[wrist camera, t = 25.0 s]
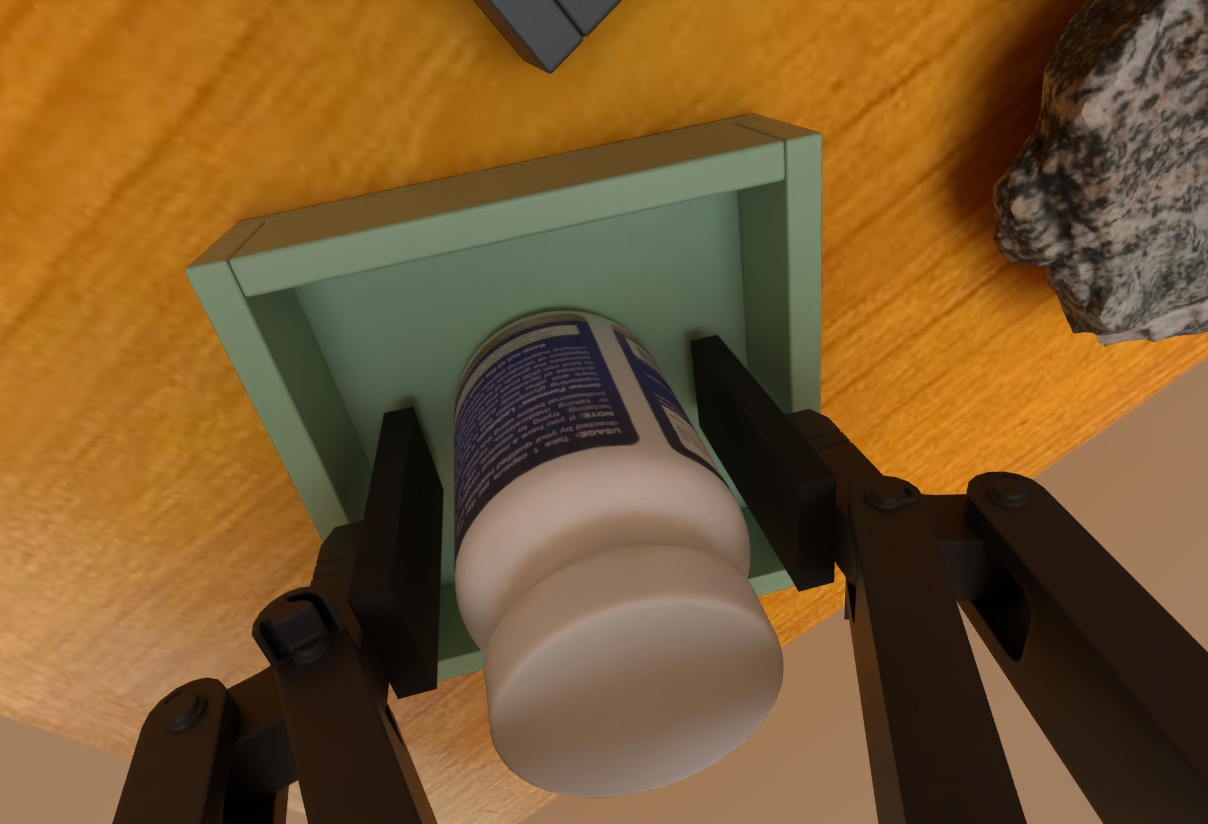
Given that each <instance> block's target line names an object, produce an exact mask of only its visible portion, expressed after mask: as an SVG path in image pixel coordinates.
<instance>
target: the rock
mask: <svg viewBox="0 0 1208 824" xmlns="http://www.w3.org/2000/svg"><path fill="white" fill-rule="evenodd" d="M993 204H994V206H995V211H994V213H993V214H994V218H995V221H996V229H995V233H994V237H993V240H994V241H995V242H996V244H997V245H998V249H999V251H1000V252H1001V253H1002V254H1003V255H1004V256H1005V257H1006V258H1007V259H1008V260H1009V261H1010V262H1011V263H1023V262H1025V263H1028V264H1030V265H1034V266H1039V267H1044V268H1045V270H1046V278H1047V282H1048V283H1049V285H1050V286H1051V287H1052V288H1053V290H1054V291H1055V293H1056V294H1057V296H1058V297H1059V300H1060V303H1061V306H1062V309H1063V312H1064V314H1065V316H1066V318H1067V321H1068V323H1069V325H1070V327H1071V329H1072V331H1073V333H1081V332H1089V333H1094V334H1095V335H1097V339H1098V343H1102V344H1104V346H1108V345H1112V344H1115V343H1119V342H1122V341H1133V340H1143V339H1146V340H1149V341H1153V342H1156V341H1159V340H1161V339H1164V338H1170V337H1174V336H1180V335H1194V334H1200V333H1203V332H1207V331H1208V0H1087V1H1086V2H1085V3H1084V4H1083V6H1082V7H1081V8H1080V9H1079V10H1078V11H1077V12H1076V13H1075V15H1074V16H1073V17H1072V18H1071V19H1070V20H1069V21H1068V22H1067V24H1066V26H1065V28H1064V30H1063V32H1062V34H1061V36H1060V37H1059V39H1058V41H1057V42H1056V44H1055V46H1054V48H1053V51H1052V53H1051V55H1050V57H1049V60H1048V62H1047V64H1046V66H1045V69H1044V79H1043V90H1042V102H1041V113H1040V116H1039V119H1038V121H1037V123H1036V126H1035V128H1034V130H1033V133H1032V134H1031V135H1030V136H1029V138H1028V139H1027V140H1026V141H1025V143H1024V144H1023V145H1022V146H1021V148H1020V149H1019V151H1018V153H1017V155H1016V157H1015V159H1014V161H1013V163H1012V165H1011V167H1010V168H1009V169H1008V170H1007V171H1006V172H1005V173H1004V174H1003V175H1002V177H1001V178H1000V179H999V180H998V181H997V182H996V183H995V184H994V185H993Z"/></svg>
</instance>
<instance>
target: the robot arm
mask: <svg viewBox="0 0 1208 824" xmlns="http://www.w3.org/2000/svg"><path fill="white" fill-rule="evenodd" d="M690 344H691V354H692V363H693V372H694V382H695V391H696V401H697V410H698V419H699V427H700V429H701V430H702V432H703V434H704V435H705V437H706V439H707V440H708V442H709V444H710V445H711V447H712V448H713V450H714V452H715V453H716V455H717V457H718V458H719V460H720V462H721V463H722V465H723V467H724V468H725V470H726V472H727V473H728V475H729V477H730V478H731V480H732V482H733V483H734V485H735V487H736V488H737V490H738V492H739V493H740V495H741V497H742V498H743V500H744V502H745V503H746V505H747V507H748V508H749V510H750V512H751V513H752V515H753V517H754V518H755V520H756V522H757V523H758V525H759V526H760V528H761V530H762V531H763V533H764V535H765V536H766V538H767V540H768V541H769V543H770V545H771V546H772V548H773V550H774V551H775V553H776V555H777V556H778V558H779V560H780V561H781V563H782V565H783V566H784V568H785V570H786V571H787V573H788V575H789V576H790V578H791V580H792V581H793V583H794V585H795V586H796V588H797V590H798V591H799V592H800V591H803V590H807V589H811V588H814V587H818V586H822V585H826V584H829V583H833V582H834V568H835V563H836V564H837V565H838V567H839V568H840V570H841V571H842V572H843V574H844V575H845V577H846V591H845V619H849V621H850V628H851V635H852V642H853V649H854V656H855V663H856V670H857V677H858V684H859V691H860V698H861V705H862V711H863V719H864V726H865V733H866V740H867V747H868V754H869V761H870V768H871V775H872V782H873V788H874V796H875V802H876V810H877V816H878V823H879V824H1027V823H1026V819H1025V816H1024V813H1023V810H1022V807H1021V804H1020V801H1019V797H1018V794H1017V791H1016V788H1015V785H1014V782H1013V778H1012V775H1011V772H1010V769H1009V766H1008V763H1007V759H1006V756H1005V753H1004V750H1003V747H1002V744H1001V741H1000V738H999V734H998V731H997V728H996V725H995V722H994V718H993V715H992V712H991V709H990V706H989V703H988V700H987V696H986V693H985V690H984V687H983V684H982V681H981V678H980V674H979V671H978V668H977V665H976V662H975V659H974V656H973V652H972V649H971V646H970V643H969V640H968V637H967V633H966V630H965V627H964V624H963V621H962V618H961V615H960V612H959V608H958V605H957V602H958V604H959V605H960V607H961V608H962V610H963V611H964V613H965V614H966V616H967V617H968V619H969V621H970V622H971V624H972V625H973V626H974V628H975V630H976V631H977V633H978V634H979V636H980V637H981V639H982V640H983V641H984V643H985V645H986V646H987V648H988V649H989V651H990V652H991V654H992V655H993V657H994V658H995V660H996V662H997V663H998V664H999V666H1000V668H1001V669H1002V671H1003V672H1004V674H1005V675H1006V677H1007V678H1008V680H1009V681H1010V683H1011V684H1012V686H1013V687H1014V689H1015V690H1016V692H1017V693H1018V695H1019V696H1020V698H1021V699H1022V701H1023V702H1024V704H1025V706H1026V707H1027V708H1028V710H1029V712H1030V713H1031V715H1032V716H1033V718H1034V719H1035V721H1036V722H1037V723H1038V725H1039V727H1040V728H1041V730H1042V731H1043V733H1044V734H1045V736H1046V737H1047V739H1048V740H1049V742H1050V743H1051V745H1052V747H1053V748H1054V750H1055V751H1056V753H1057V754H1058V755H1059V757H1060V759H1061V760H1062V762H1063V763H1064V765H1065V766H1066V768H1067V769H1068V771H1069V772H1070V774H1071V775H1072V777H1073V778H1074V780H1075V781H1076V783H1077V784H1078V786H1079V788H1080V789H1081V790H1082V792H1083V794H1084V795H1085V797H1086V798H1087V800H1088V801H1089V803H1090V804H1091V806H1092V807H1093V809H1094V810H1095V812H1096V813H1097V815H1098V816H1099V818H1100V819H1101V821H1102V822H1103V824H1208V652H1207V651H1206V650H1205V649H1204V648H1203V647H1202V646H1201V645H1200V644H1199V643H1198V642H1197V641H1196V640H1195V639H1194V638H1193V637H1192V636H1191V635H1190V634H1189V633H1188V632H1187V631H1186V630H1185V629H1184V628H1183V627H1182V626H1181V625H1180V624H1179V623H1178V622H1177V621H1176V620H1175V619H1174V618H1173V617H1172V616H1171V615H1170V614H1169V613H1168V612H1167V611H1166V610H1165V609H1164V608H1163V607H1162V606H1161V605H1160V604H1159V603H1158V602H1157V601H1156V600H1155V599H1154V598H1153V597H1152V596H1151V595H1150V594H1149V593H1148V592H1147V591H1146V590H1145V589H1144V588H1143V587H1142V586H1141V585H1140V584H1139V583H1138V582H1137V581H1136V580H1135V579H1134V578H1133V577H1132V576H1131V575H1130V574H1129V573H1128V572H1127V571H1126V570H1125V569H1124V568H1123V567H1122V566H1121V565H1120V564H1119V563H1118V562H1117V561H1116V560H1115V559H1114V558H1113V557H1112V556H1111V555H1110V554H1109V553H1108V552H1107V551H1106V550H1105V548H1103V547H1102V545H1101V544H1100V543H1099V542H1097V540H1096V539H1094V537H1093V536H1091V534H1089V533H1088V531H1087V530H1086V529H1084V527H1083V526H1082V525H1081V524H1080V523H1078V521H1077V520H1076V519H1075V518H1074V517H1073V516H1072V515H1071V514H1070V513H1069V512H1068V511H1067V510H1066V509H1065V508H1064V507H1063V506H1062V505H1061V504H1060V503H1059V502H1058V501H1057V500H1056V499H1055V498H1054V497H1053V496H1052V495H1051V494H1050V493H1049V492H1048V491H1047V490H1045V488H1044V487H1042V486H1041V485H1039V484H1038V483H1037V482H1035V481H1034V480H1032V479H1030V478H1027V477H1024V476H1022V475H1019V474H1014V473H1008V472H987V473H984V474H980V475H977V476H975V477H974V478H973V479H972V480H971V481H969V483H968V488H967V493H966V494H958V495H925V494H921V493H920V491H919V490H918V488H916V487H915V486H914V485H912V484H911V483H909V482H908V481H905V480H902V479H899V478H896V477H890V476H883V475H882V474H881V473H880V472H879V471H878V470H877V469H876V467H875V466H874V465H873V464H872V463H871V462H870V461H869V460H868V459H867V458H866V457H865V456H864V455H863V454H862V453H861V452H860V451H859V450H858V448H857V447H856V446H855V445H854V444H853V443H850V440H849V439H848V438H847V437H846V436H845V435H844V434H843V433H841V432H840V429H839V428H838V427H837V426H836V425H835V424H834V423H833V422H832V421H831V420H830V419H829V418H828V417H826V416H824V415H822V414H820V413H818V412H815V411H813V410H811V409H806V410H802V411H798V412H794V413H790V414H786V415H785V414H784V413H783V412H782V410H781V409H780V408H779V407H778V406H777V405H776V403H775V402H774V401H773V400H772V399H771V397H770V396H769V395H768V394H767V393H766V391H765V390H764V389H763V388H762V387H761V386H760V384H759V383H758V382H757V381H756V380H755V378H754V377H753V376H752V375H751V374H750V373H749V371H748V370H747V369H746V368H745V367H744V365H743V364H742V363H741V362H740V361H739V359H738V358H737V357H736V356H735V355H734V354H733V352H732V351H731V350H730V349H729V348H728V346H727V345H726V344H725V343H724V342H723V340H722V339H721V338H720V337H719V336H718V335H714V336H709V337H705V338H701V339H697V340H692V341H690ZM443 495H444V489H443V486H442V483H441V481H440V478H439V475H438V472H437V470H436V467H435V464H434V461H433V459H432V456H431V453H430V451H429V448H428V445H427V442H426V440H425V437H424V434H423V431H422V429H421V426H420V423H419V421H418V418H417V415H416V412H415V410H414V407H413V406H412V407H408V408H403V409H399V410H395V411H391V412H386V413H384V415H383V420H382V425H381V430H380V435H379V440H378V445H377V450H376V456H375V461H374V466H373V471H372V476H371V481H370V486H369V491H368V497H367V502H366V507H365V512H364V517H363V520H362V521H358V522H354V523H350V524H346V525H342V526H338V527H334V529H333V530H332V531H331V533H330V534H329V535H328V537H327V538H326V539H325V541H324V542H323V543H322V545H321V547H320V551H319V555H318V559H317V562H316V563H317V566H315V570H314V574H313V580H312V581H311V585H310V587H300V588H297V589H295V590H292V591H289V592H287V593H284V594H283V595H281V596H280V597H278V598H276V599H275V600H273V601H272V602H270V603H269V604H268V605H267V606H266V607H265V608H264V609H263V610H262V611H261V612H260V613H259V615H258V617H257V618H256V620H255V622H254V624H253V629H252V636H253V638H254V640H255V641H256V643H257V644H258V646H259V647H260V649H261V650H262V652H263V653H264V655H265V656H266V658H267V660H268V661H269V663H270V664H271V666H269V667H268V668H266V669H264V670H263V671H261V672H259V673H258V674H256V675H254V676H252V677H250V678H248V679H246V680H244V681H242V682H240V683H238V684H236V685H234V686H232V687H230V688H229V689H226V687H225V686H224V685H223V684H222V683H221V682H220V681H219V680H218V679H212V678H203V679H198V680H194V681H191V682H189V683H187V684H184V685H182V686H180V687H178V688H176V689H175V690H174V691H172V692H171V693H170V694H168V695H167V696H166V697H164V698H163V699H162V700H161V701H160V702H159V703H158V704H157V705H156V706H155V707H154V708H153V710H152V711H151V712H150V713H149V715H148V716H147V718H146V720H145V722H144V724H143V726H142V729H141V732H140V735H139V739H138V742H137V745H136V748H135V752H134V755H133V758H132V761H131V765H130V768H129V771H128V775H127V778H126V781H125V785H124V787H123V791H122V794H121V798H120V801H119V804H118V807H117V810H116V814H115V817H114V820H113V823H112V824H286V813H287V801H288V789H289V785H290V784H292V783H294V782H295V781H297V780H298V781H299V786H300V790H301V794H302V799H303V803H304V807H305V812H306V816H307V820H308V824H438V823H437V821H436V818H435V816H434V813H433V811H432V808H431V806H430V803H429V801H428V798H427V796H426V793H425V791H424V789H423V786H422V784H421V781H420V779H419V776H418V774H417V771H416V769H415V766H414V764H413V761H412V759H411V756H410V754H409V752H408V749H407V747H406V744H405V742H404V739H403V737H402V734H401V732H400V729H399V727H398V724H397V722H396V719H395V717H394V715H393V713H392V711H391V709H390V707H389V705H388V704H387V697H388V688H389V682H390V684H391V686H392V688H393V690H394V692H395V694H396V696H397V698H398V699H401V698H404V697H408V696H412V695H415V694H419V693H423V692H427V691H430V690H434V689H437V675H438V645H439V615H440V585H441V555H442V525H443ZM956 601H957V602H956Z"/></svg>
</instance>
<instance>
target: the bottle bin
mask: <svg viewBox="0 0 1208 824" xmlns="http://www.w3.org/2000/svg"><path fill="white" fill-rule="evenodd" d="M821 265H822V134H821V133H820V132H816V131H813V130H809V129H806V128H802V127H799V126H795V125H792V124H789V123H785V122H782V121H778V120H775V119H771V118H768V117H764V116H761V115H758V114H749V115H744V116H740V117H735V118H730V119H725V120H721V121H716V122H711V123H706V124H702V125H697V126H692V127H687V128H683V129H678V130H673V131H668V132H664V133H659V134H654V135H649V136H644V137H640V138H635V139H630V140H625V141H621V142H616V143H611V144H606V145H602V146H597V147H592V148H587V149H583V150H578V151H573V152H568V153H563V154H559V155H554V156H549V157H544V158H540V159H535V160H530V161H525V162H521V163H516V164H511V165H506V166H502V167H497V168H492V169H487V170H483V171H478V172H473V173H468V174H463V175H459V176H454V177H449V178H444V179H440V180H435V181H430V182H425V183H421V184H416V185H411V186H406V187H402V188H397V189H392V190H387V191H383V192H378V193H373V194H368V195H363V196H359V197H354V198H349V199H344V200H340V201H335V202H330V203H325V204H321V205H316V206H311V207H306V208H302V209H297V210H292V211H287V212H283V213H278V214H273V215H268V216H263V217H259V218H254V219H249V220H244V221H240V222H238V223H237V224H236V225H234V226H233V227H232V228H231V229H230V230H229V231H227V232H226V233H225V234H224V235H223V236H222V237H221V238H219V239H218V240H217V241H216V242H215V243H214V244H213V245H211V246H210V247H209V248H208V249H207V250H206V251H205V252H204V253H202V254H201V255H200V256H199V257H198V258H197V259H196V260H194V261H193V262H192V263H191V264H190V265H189V266H188V267H186V268H185V273H186V275H187V277H188V279H189V281H190V283H191V285H192V287H193V289H194V290H195V292H196V294H197V296H198V298H199V300H200V302H201V304H202V306H203V308H204V310H205V312H206V314H207V316H208V318H209V320H210V322H211V324H212V326H213V328H214V330H215V331H216V333H217V335H218V337H219V339H220V341H221V343H222V345H223V347H224V349H225V351H226V353H227V355H228V357H229V359H230V361H231V363H232V365H233V367H234V369H235V370H236V372H237V374H238V376H239V378H240V380H241V382H242V384H243V386H244V388H245V390H246V392H247V394H248V396H249V398H250V400H251V402H252V404H253V406H254V408H255V410H256V411H257V413H258V415H259V417H260V419H261V421H262V423H263V425H264V427H265V429H266V431H267V433H268V435H269V437H270V439H271V441H272V443H273V445H274V447H275V449H276V450H277V452H278V454H279V456H280V458H281V460H282V462H283V464H284V466H285V468H286V470H287V472H288V474H289V476H290V478H291V480H292V482H293V484H294V486H295V488H296V490H297V491H298V493H299V495H300V497H301V499H302V501H303V503H304V505H305V507H306V509H307V511H308V513H309V515H310V517H311V519H312V521H313V523H314V525H315V527H316V529H317V530H318V532H319V534H320V536H321V538H322V540H323V542H324V541H325V539H326V538H327V537H328V535H329V534H330V533H331V531H332V530H333V529H334V527H338V526H342V525H346V524H350V523H354V522H358V521H362V520H363V517H364V512H365V507H366V502H367V497H368V491H369V486H370V481H371V476H372V471H373V466H374V461H375V456H376V450H377V445H378V440H379V435H380V430H381V425H382V420H383V415H384V413H386V412H391V411H395V410H399V409H403V408H408V407H412V406H413V407H414V410H415V412H416V415H417V418H418V421H419V423H420V426H421V429H422V431H423V434H424V437H425V440H426V442H427V445H428V448H429V451H430V453H431V456H432V459H433V461H434V464H435V467H436V470H437V472H438V475H439V478H440V481H441V483H442V486H443V489H444V495H443V525H442V555H441V585H440V615H439V645H438V675H437V682H439V681H443V680H447V679H451V678H454V677H458V676H462V675H465V674H469V673H473V672H477V671H480V670H484V669H485V657H486V655H485V654H484V653H483V652H482V651H481V649H480V648H479V647H478V646H477V645H476V643H475V642H474V640H473V639H472V637H471V636H470V634H469V632H468V630H467V628H466V626H465V624H464V622H463V620H462V617H461V614H460V611H459V607H458V603H457V597H456V589H455V570H454V405H455V398H456V392H457V388H458V384H459V382H460V379H461V376H462V374H463V372H464V370H465V368H466V366H467V364H468V363H469V361H470V359H471V358H472V356H473V355H474V354H475V353H476V351H477V350H478V349H479V348H480V347H481V346H482V345H483V344H484V343H485V342H486V341H487V340H488V339H489V338H490V337H491V336H493V335H494V334H495V333H496V332H498V331H499V330H501V329H502V328H504V327H506V326H507V325H509V324H511V323H513V322H515V321H517V320H520V319H522V318H525V317H528V316H531V315H535V314H539V313H543V312H550V311H565V310H569V311H579V312H586V313H590V314H594V315H597V316H601V317H603V318H606V319H608V320H611V321H613V322H615V323H617V324H618V325H620V326H622V327H623V328H625V329H626V330H628V331H629V332H630V333H631V334H633V335H634V336H635V337H636V338H637V339H638V340H639V341H640V342H641V343H642V345H643V346H644V347H645V348H646V350H647V351H648V352H649V354H650V355H651V356H652V358H653V359H654V361H655V362H656V364H657V366H658V367H659V369H660V371H661V373H662V374H663V376H664V378H665V379H666V381H667V383H668V384H669V386H670V387H671V389H672V391H673V392H674V394H675V396H676V398H677V399H678V401H679V403H680V404H681V406H682V408H683V410H684V411H685V413H686V415H687V416H688V418H689V420H690V422H691V423H692V425H693V427H694V428H695V430H696V432H697V433H698V435H699V437H700V439H701V440H702V442H703V443H704V445H705V447H706V449H707V451H708V452H709V454H710V456H711V457H712V459H713V461H714V462H715V464H716V466H717V467H718V469H719V471H720V473H721V474H722V476H723V478H724V479H725V481H726V483H727V484H728V486H729V487H730V489H731V491H732V493H733V495H734V497H735V499H736V501H737V503H738V505H739V507H740V510H741V512H742V514H743V516H744V519H745V522H746V525H747V529H748V534H749V540H750V569H749V575H748V579H747V580H748V581H749V582H750V583H751V585H752V587H753V589H754V590H755V593H756V595H757V596H760V595H764V594H768V593H771V592H775V591H779V590H783V589H786V588H790V587H793V586H794V583H793V581H792V580H791V578H790V576H789V575H788V573H787V571H786V570H785V568H784V566H783V565H782V563H781V561H780V560H779V558H778V556H777V555H776V553H775V551H774V550H773V548H772V546H771V545H770V543H769V541H768V540H767V538H766V536H765V535H764V533H763V531H762V530H761V528H760V526H759V525H758V523H757V522H756V520H755V518H754V517H753V515H752V513H751V512H750V510H749V508H748V507H747V505H746V503H745V502H744V500H743V498H742V497H741V495H740V493H739V492H738V490H737V488H736V487H735V485H734V483H733V482H732V480H731V478H730V477H729V475H728V473H727V472H726V470H725V468H724V467H723V465H722V463H721V462H720V460H719V458H718V457H717V455H716V453H715V452H714V450H713V448H712V447H711V445H710V444H709V442H708V440H707V439H706V437H705V435H704V434H703V432H702V430H701V429H700V427H699V419H698V410H697V401H696V391H695V382H694V372H693V363H692V354H691V344H690V341H692V340H697V339H701V338H705V337H709V336H714V335H718V336H719V337H720V338H721V339H722V340H723V342H724V343H725V344H726V345H727V346H728V348H729V349H730V350H731V351H732V352H733V354H734V355H735V356H736V357H737V358H738V359H739V361H740V362H741V363H742V364H743V365H744V367H745V368H746V369H747V370H748V371H749V373H750V374H751V375H752V376H753V377H754V378H755V380H756V381H757V382H758V383H759V384H760V386H761V387H762V388H763V389H764V390H765V391H766V393H767V394H768V395H769V396H770V397H771V399H772V400H773V401H774V402H775V403H776V405H777V406H778V407H779V408H780V409H781V410H782V412H783V413H784V414H785V415H786V414H790V413H794V412H798V411H802V410H806V409H811V410H813V411H815V412H818V413H820V414H821Z"/></svg>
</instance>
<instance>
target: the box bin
mask: <svg viewBox="0 0 1208 824" xmlns="http://www.w3.org/2000/svg"><path fill="white" fill-rule="evenodd" d="M473 1H474V2H475V3H476V4H477V5H478V7H479V8H480V9H481V10H482V11H483V12H484V14H485V15H486V16H487V17H488V18H489V20H490V21H491V22H492V23H493V24H494V25H495V27H496V28H497V29H498V30H499V31H500V33H501V34H502V35H503V36H504V37H505V39H506V40H507V41H508V42H509V43H510V44H511V46H512V47H513V48H514V49H515V50H516V52H517V53H518V54H519V55H520V56H521V58H522V59H523V60H524V61H525V62H527V63H529V64H531V65H533V66H535V67H537V68H539V69H541V70H543V71H545V72H547V73H549V74H550V73H553V72H554V71H555V69H556V68H557V67H558V66H559V65H560V64H561V63H562V62H563V61H564V60H565V59H566V58H567V57H568V56H569V55H570V54H571V53H572V52H573V51H574V50H575V49H576V48H577V47H578V46H579V44H580V43H581V42H582V41H583V37H585V36H588V35H589V34H590V33H591V32H592V31H593V30H594V29H595V28H596V27H597V26H598V25H599V24H600V22H601V21H602V20H603V19H604V18H605V17H606V16H607V15H608V14H609V13H610V12H611V11H612V10H613V9H614V8H615V7H616V6H617V5H618V4H619V3H620V2H621V1H622V0H473Z"/></svg>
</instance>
